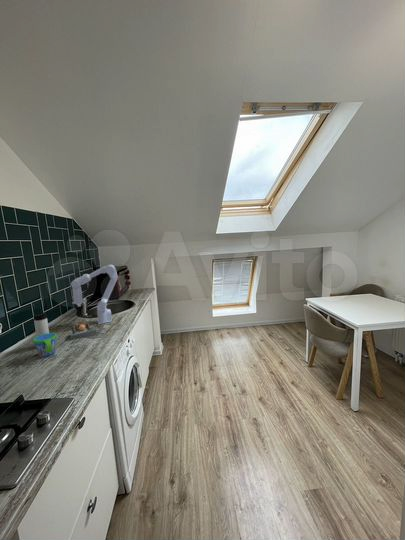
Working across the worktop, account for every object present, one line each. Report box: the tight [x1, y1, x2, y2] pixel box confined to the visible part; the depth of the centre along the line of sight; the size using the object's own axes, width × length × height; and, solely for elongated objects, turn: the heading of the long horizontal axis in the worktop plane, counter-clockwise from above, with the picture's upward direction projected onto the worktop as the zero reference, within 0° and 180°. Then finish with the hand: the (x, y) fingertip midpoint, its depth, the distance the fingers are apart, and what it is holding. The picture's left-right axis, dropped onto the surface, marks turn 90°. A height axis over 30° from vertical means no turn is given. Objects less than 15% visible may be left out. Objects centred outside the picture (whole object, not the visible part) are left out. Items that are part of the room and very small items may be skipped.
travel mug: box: [33, 312, 50, 337], centre depth 134 cm, size 6×7×20 cm
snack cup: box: [32, 332, 58, 358], centre depth 124 cm, size 16×10×10 cm
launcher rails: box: [72, 322, 92, 334], centre depth 160 cm, size 10×13×1 cm
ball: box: [78, 324, 86, 331], centre depth 157 cm, size 4×4×4 cm
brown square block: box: [75, 320, 88, 330], centre depth 162 cm, size 6×6×3 cm
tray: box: [69, 325, 97, 341], centre depth 149 cm, size 14×9×3 cm, turn 122°
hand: (79, 313), depth 167 cm, fingers open, 7 cm apart
